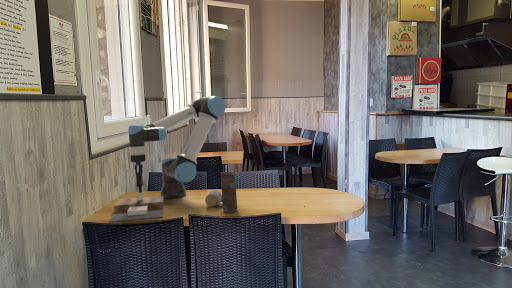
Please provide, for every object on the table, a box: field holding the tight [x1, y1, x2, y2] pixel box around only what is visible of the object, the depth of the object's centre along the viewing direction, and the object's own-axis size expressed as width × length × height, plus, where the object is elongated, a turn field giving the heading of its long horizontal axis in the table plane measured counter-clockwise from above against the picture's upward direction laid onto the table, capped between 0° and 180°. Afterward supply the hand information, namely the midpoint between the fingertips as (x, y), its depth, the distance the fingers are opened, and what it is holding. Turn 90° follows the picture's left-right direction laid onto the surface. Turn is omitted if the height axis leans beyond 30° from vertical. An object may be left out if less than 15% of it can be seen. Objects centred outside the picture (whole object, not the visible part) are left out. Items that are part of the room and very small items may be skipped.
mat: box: [108, 208, 164, 223], centre depth 178 cm, size 24×14×1 cm, turn 102°
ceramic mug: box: [204, 189, 223, 208], centre depth 192 cm, size 11×8×8 cm
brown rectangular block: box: [220, 171, 238, 214], centre depth 181 cm, size 8×7×20 cm
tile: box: [127, 206, 148, 216], centre depth 182 cm, size 9×8×2 cm
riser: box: [113, 195, 165, 214], centre depth 192 cm, size 24×14×4 cm, turn 102°
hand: (140, 197), depth 193 cm, fingers closed
